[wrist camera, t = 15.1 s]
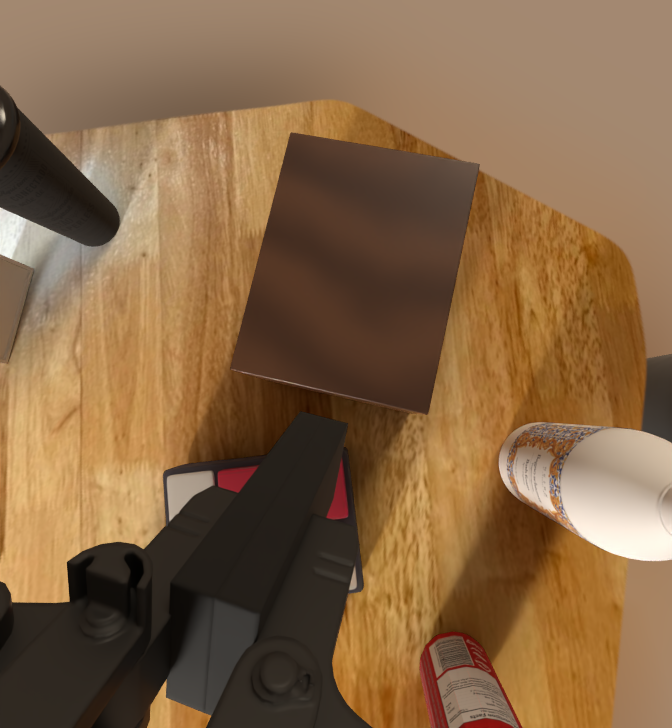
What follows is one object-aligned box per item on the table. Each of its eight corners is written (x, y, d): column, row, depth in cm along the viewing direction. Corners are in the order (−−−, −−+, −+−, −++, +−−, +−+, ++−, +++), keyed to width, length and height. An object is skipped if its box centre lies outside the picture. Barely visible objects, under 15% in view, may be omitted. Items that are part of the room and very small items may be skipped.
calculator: (365, 596, 31) (167, 620, 31) (362, 574, 35) (188, 594, 35) (347, 448, 32) (157, 471, 32) (347, 444, 37) (179, 464, 37)
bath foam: (496, 420, 35) (662, 434, 15) (581, 423, 35) (866, 442, 15) (496, 503, 34) (671, 631, 15) (583, 508, 34) (887, 648, 14)
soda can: (449, 716, 33) (496, 889, 21) (404, 657, 34) (425, 792, 22) (502, 671, 33) (579, 818, 21) (457, 613, 34) (506, 724, 22)
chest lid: (292, 139, 29) (290, 131, 28) (476, 170, 28) (480, 163, 27) (233, 370, 27) (229, 369, 26) (426, 414, 26) (428, 414, 25)
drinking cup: (123, 266, 39) (-125, 121, 19) (50, 254, 40) (-261, 102, 20) (142, 191, 40) (-79, -23, 20) (70, 180, 41) (-212, -37, 21)
